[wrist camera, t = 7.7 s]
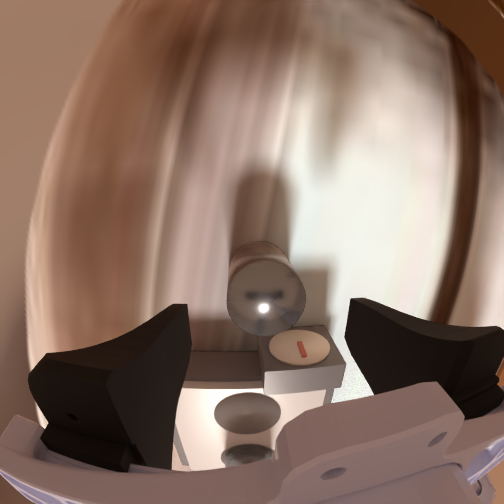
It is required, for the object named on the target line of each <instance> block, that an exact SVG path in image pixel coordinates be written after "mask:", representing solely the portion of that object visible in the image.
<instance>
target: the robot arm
mask: <svg viewBox="0 0 504 504" xmlns="http://www.w3.org/2000/svg"><path fill="white" fill-rule="evenodd" d="M344 337H345V340H346V343H347V346H348V348H349V350H350V353H351V355H352V357H353V358H354V360H355V362H356V364H357V365H358V367H359V369H360V370H361V372H362V374H363V375H364V377H365V379H366V381H367V382H368V384H369V386H370V388H371V390H372V391H373V393H374V395H373V396H368V397H363V398H358V399H353V400H348V401H342V402H336V403H330V404H326V405H323V406H320V407H317V408H313V409H310V410H306V411H304V412H303V413H301V414H300V415H298V416H297V417H295V418H294V419H292V420H291V421H289V422H288V423H286V424H285V425H284V426H283V428H282V429H281V431H280V433H279V435H278V436H277V438H276V441H275V450H274V455H273V457H272V459H267V460H263V461H258V462H253V463H248V464H243V465H237V466H231V467H225V468H218V469H210V470H201V471H190V472H185V471H175V470H172V451H173V438H174V428H175V420H176V412H177V406H178V401H179V397H180V394H181V390H182V387H183V383H184V380H185V376H186V372H187V369H188V365H189V361H190V354H191V346H192V342H191V334H190V325H189V316H188V307H187V304H172V305H170V306H169V307H167V308H166V309H164V310H163V311H161V312H160V313H159V314H157V315H156V316H154V317H153V318H151V319H150V320H148V321H147V322H145V323H143V324H142V325H140V326H139V327H137V328H135V329H134V330H132V331H130V332H128V333H126V334H124V335H122V336H119V337H117V338H115V339H112V340H109V341H107V342H104V343H101V344H98V345H95V346H91V347H87V348H83V349H78V350H72V351H65V352H55V353H46V354H45V356H44V357H43V358H42V359H41V360H40V361H39V363H38V364H37V365H36V366H35V367H34V369H33V370H32V371H31V372H30V373H29V376H28V383H29V388H30V391H31V393H32V395H33V397H34V399H35V401H36V403H37V405H38V406H39V408H40V410H41V411H42V413H43V415H44V416H45V418H46V419H47V421H48V425H47V427H46V428H45V429H44V428H43V427H42V426H40V425H39V424H37V423H35V422H33V421H31V420H28V419H26V418H24V417H21V416H19V415H15V416H14V418H13V419H12V420H11V422H10V423H9V425H8V426H7V428H6V429H5V431H4V432H3V434H2V435H1V437H0V474H1V475H2V476H3V477H4V478H5V479H6V480H7V481H8V482H9V483H10V484H11V485H12V486H13V487H15V488H16V489H17V490H18V491H19V492H20V493H21V494H22V495H24V496H25V497H26V498H27V499H29V500H30V501H32V502H34V503H36V504H492V503H493V501H494V498H495V491H496V490H495V488H494V486H493V484H492V483H491V480H490V477H489V476H488V474H487V472H489V471H490V470H491V469H492V468H494V467H495V466H496V465H497V464H498V463H500V462H501V461H502V460H503V459H504V385H503V386H502V387H501V388H500V387H499V386H498V385H497V383H498V382H499V378H498V377H497V376H496V375H495V374H496V372H497V370H498V368H499V366H500V364H501V362H502V359H503V357H504V330H503V329H502V328H500V327H498V326H488V327H463V326H453V325H446V324H440V323H435V322H431V321H427V320H423V319H420V318H417V317H414V316H411V315H408V314H405V313H403V312H400V311H397V310H395V309H392V308H390V307H388V306H385V305H383V304H380V303H378V302H375V301H372V300H370V299H366V298H351V299H350V306H349V312H348V319H347V325H346V331H345V336H344ZM479 495H480V496H479ZM478 496H479V497H478Z"/></svg>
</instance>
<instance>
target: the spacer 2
mask: <svg viewBox="0 0 504 504" xmlns="http://www.w3.org/2000/svg"><path fill="white" fill-rule="evenodd" d="M267 459H272V453H271V451H270V450H269V449H268V448H266V447H264V446H260V445H253V444H247V445H239V446H236V447H233V448H231V449H229V450H228V451H227V452H226V454H225V467H231V466H237V465H243V464H248V463H253V462H258V461H263V460H267Z"/></svg>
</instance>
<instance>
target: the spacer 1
mask: <svg viewBox="0 0 504 504" xmlns="http://www.w3.org/2000/svg"><path fill="white" fill-rule="evenodd" d="M305 301H306V295H305V290H304V287H303V285H302V282H301V281H300V279H299V278H298V276H297V274H296V273H295V271H294V269H293V268H292V266H291V264H290V263H289V261H288V260H287V258H286V256H285V255H284V253H283V252H282V251H281V250H280V249H279V248H278V247H277V246H275V245H273V244H271V243H268V242H263V241H256V242H251V243H248V244H246V245H244V246H242V247H241V248H240V249H238V250H237V251H236V253H235V254H234V255H233V257H232V259H231V262H230V266H229V276H228V289H227V309H228V313H229V315H230V317H231V319H232V320H233V322H234V323H235V324H236V325H237V326H238V327H239V328H241V329H242V330H244V331H246V332H248V333H250V334H254V335H259V336H270V335H275V334H278V333H281V332H283V331H285V330H287V329H289V328H290V327H291V326H292V325H294V324H295V323H296V322H297V320H298V319H299V318H300V316H301V314H302V312H303V310H304V307H305Z"/></svg>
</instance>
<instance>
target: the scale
mask: <svg viewBox="0 0 504 504" xmlns="http://www.w3.org/2000/svg"><path fill="white" fill-rule="evenodd" d="M345 368H346V362H345V361H344V359H343V357H342V355H341V354H340V352H339V350H338V348H337V346H336V345H335V343H334V341H333V339H332V338H331V336H330V334H329V332H328V331H327V329H326V327H325V325H321V326H307V327H291V328H289V329H287V330H285V331H283V332H281V333H278V334H275V335H270V336H259V335H258V351H234V352H205V351H191V354H190V361H189V365H188V369H187V372H186V376H185V380H184V383H183V387H182V390H181V394H180V397H179V401H178V406H177V412H176V420H175V428H174V438H173V441H174V444H175V447H176V449H177V452H178V455H179V457H180V460H181V463H182V465H187V466H190V469H191V470H210V469H218V468H225V454H226V452H227V451H228V450H229V449H231V448H233V447H236V446H239V445H247V444H253V445H260V446H264V447H266V448H268V449H269V450H270V451H271V453H272V457H273V455H274V450H275V441H276V438H277V436H278V435H279V433H280V431H281V429H282V428H283V426H284V425H285V424H286V423H288V422H289V421H291V420H292V419H294V418H295V417H297V416H298V415H300V414H301V413H303V412H304V411H306V410H310V409H313V408H317V407H320V406H323V405H326V404H330V403H331V400H332V396H333V392H334V388H340V387H341V385H342V381H343V376H344V372H345Z"/></svg>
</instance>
